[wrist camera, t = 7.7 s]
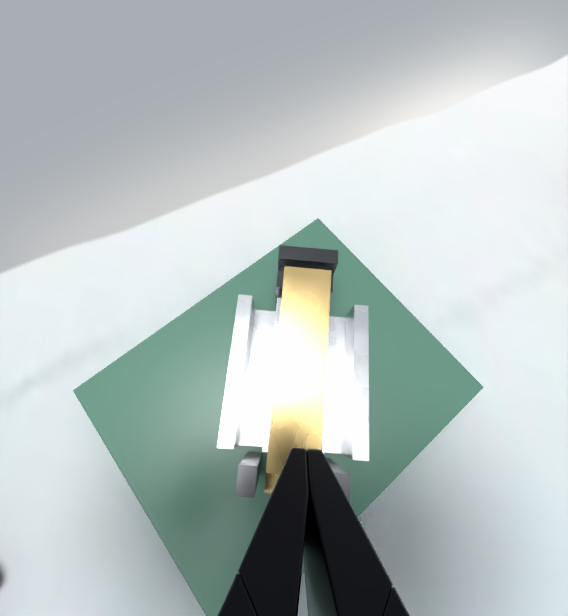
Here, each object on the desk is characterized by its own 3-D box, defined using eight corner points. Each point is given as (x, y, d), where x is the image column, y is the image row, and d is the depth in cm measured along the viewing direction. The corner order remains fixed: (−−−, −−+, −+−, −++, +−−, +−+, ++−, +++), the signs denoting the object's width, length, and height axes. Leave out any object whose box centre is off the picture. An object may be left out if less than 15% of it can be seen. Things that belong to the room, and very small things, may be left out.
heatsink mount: (357, 483, 18) (388, 509, 13) (218, 471, 18) (196, 493, 13) (358, 290, 22) (382, 254, 17) (244, 280, 22) (235, 241, 17)
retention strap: (316, 494, 14) (320, 503, 13) (264, 489, 14) (263, 498, 13) (328, 276, 17) (332, 269, 16) (284, 272, 17) (284, 265, 16)
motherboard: (474, 388, 21) (483, 387, 20) (230, 637, 16) (227, 650, 15) (316, 225, 25) (318, 218, 24) (82, 391, 20) (73, 390, 19)
